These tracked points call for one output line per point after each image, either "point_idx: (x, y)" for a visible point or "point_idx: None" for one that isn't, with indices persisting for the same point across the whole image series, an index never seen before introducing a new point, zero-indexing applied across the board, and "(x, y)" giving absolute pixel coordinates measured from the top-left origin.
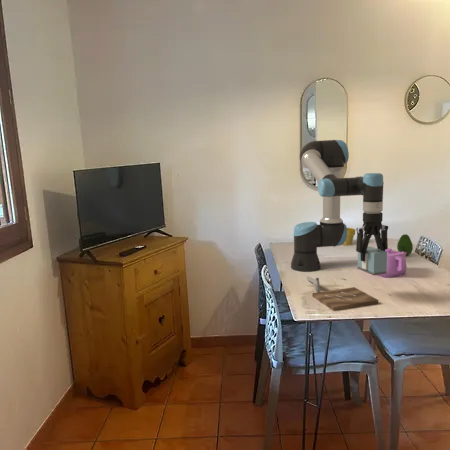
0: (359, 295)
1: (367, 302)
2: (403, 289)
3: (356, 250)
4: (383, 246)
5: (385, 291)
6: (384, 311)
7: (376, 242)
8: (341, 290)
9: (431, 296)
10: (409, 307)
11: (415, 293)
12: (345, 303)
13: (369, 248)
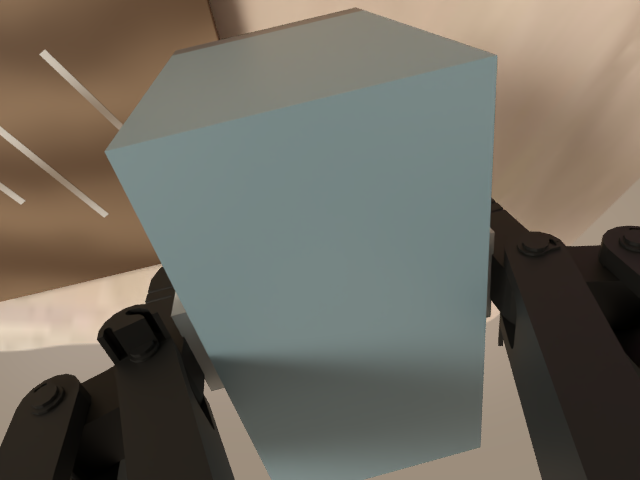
0: None
1: None
2: (556, 5)
3: (26, 411)
4: (624, 299)
5: (419, 22)
6: None
7: (549, 389)
8: (49, 8)
9: (591, 161)
10: None
11: (559, 101)
12: (60, 267)
13: (362, 259)
